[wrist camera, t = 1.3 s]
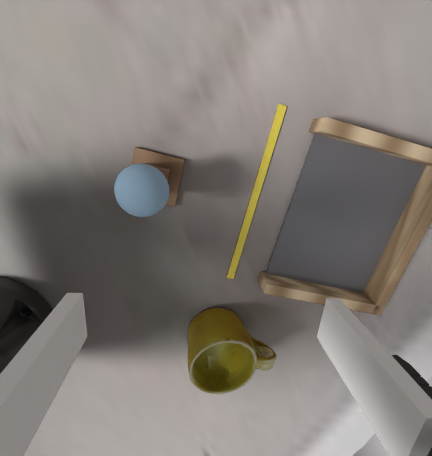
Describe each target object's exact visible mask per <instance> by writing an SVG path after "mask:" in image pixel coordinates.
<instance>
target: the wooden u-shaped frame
mask: <svg viewBox="0 0 432 456" xmlns="http://www.w3.org/2000/svg"><path fill="white" fill-rule="evenodd" d="M309 132H311V133H316V134H320V135H323V136H327V137H330V138H333V139H337V140H340V141H344V142H347V143H351V144H354V145H358V146H361V147H365V148H368V149H371V150H375V151H378V152H382V153H385V154H389V155H392V156H396V157H399V158H402V159H406V160H409V161H413V162H416V163H420V164H423V165H426V167H425V169H424V171H423V173H422V175H421V177H420V179H419V181H418V183H417V185H416V187H415V189H414V191H413V193H412V195H411V197H410V199H409V201H408V203H407V205H406V207H405V209H404V211H403V213H402V215H401V217H400V219H399V221H398V223H397V225H396V227H395V229H394V231H393V233H392V236H391V238H390V240H389V242H388V244H387V246H386V248H385V250H384V252H383V254H382V256H381V258H380V260H379V262H378V264H377V266H376V268H375V270H374V272H373V274H372V276H371V278H370V280H369V282H368V284H367V286H366V288H365V290H364V292H363V293H360V292H355V291H350V290H345V289H340V288H335V287H330V286H325V285H320V284H315V283H310V282H305V281H300V280H295V279H290V278H285V277H280V276H275V275H270V274H266V272H261V273H260V276H259V279H258V281H259V284H260V286H261V288H262V291H263V293H264V294H269V295H274V296H280V297H285V298H290V299H296V300H301V301H307V302H312V303H317V304H323V305H325V302H326V298H340V299H341V300H342V301H343V303H344V304H345V305H346V306H347V307H348V308H349V309H350V310H355V311H360V312H365V313H371V314H376V315H381V313H382V311H383V310H384V308H385V306H386V304H387V302H388V300H389V298H390V297H391V295H392V293H393V291H394V289H395V287H396V285H397V284H398V282H399V280H400V278H401V276H402V274H403V272H404V271H405V269H406V267H407V265H408V263H409V261H410V259H411V258H412V256H413V254H414V252H415V250H416V248H417V246H418V245H419V243H420V241H421V239H422V237H423V235H424V233H425V231H426V230H427V228H428V226H429V224H430V222H431V220H432V149H431V148H428V147H424V146H421V145H418V144H414V143H411V142H408V141H404V140H401V139H398V138H395V137H391V136H388V135H385V134H381V133H378V132H375V131H371V130H368V129H365V128H361V127H358V126H355V125H351V124H348V123H345V122H341V121H338V120H335V119H332V118H328V117H325V118H319V119H313V122H312V125H311V128H310V131H309Z"/></svg>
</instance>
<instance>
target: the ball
mask: <svg viewBox="0 0 432 456" xmlns="http://www.w3.org/2000/svg"><path fill="white" fill-rule="evenodd" d="M114 193H115V197H116V200H117V202H118V204H119V205H120V207H121V208H122V209H123V210H124V211H126V212H127V213H129V214H131V215H133V216H137V217H149V216H152V215H155V214H156V213H158V212H160V211H161V210H162V209H163V208H164V206H165V205H166V203H167V201H168V198H169V185H168V182H167V179H166V178H165V176H164V175H163V173H162V172H161V171H159V170H158V169H157V168H155V167H153V166H151V165H148V164H133V165H130V166H128V167H126V168H125V169H124V170H122V171H121V172H120V174H119V175H118V177H117V179H116V181H115V185H114Z"/></svg>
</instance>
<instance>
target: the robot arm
mask: <svg viewBox="0 0 432 456" xmlns="http://www.w3.org/2000/svg"><path fill="white" fill-rule="evenodd" d="M86 338H87V327H86V318H85V308H84V299H83V293H67V294H66V295H65V296H64V297H63V298H62V300H61V301H60V302H59V303H58V304H57V306H56V307H55V308H54V309H53V311H52V309H51V307H50V306H49V304H48V303H47V302H46V301H45V300H44V299H43V298H42V297H41V296H40V295H39V294H38V293H37V292H35V291H34V290H33V289H31V288H29V287H28V286H26V285H24V284H22V283H20V282H17V281H14V280H11V279H7V278H3V277H0V456H23V455H24V453H25V452H26V450H27V448H28V446H29V444H30V442H31V440H32V439H33V437H34V435H35V433H36V431H37V429H38V427H39V426H40V424H41V422H42V420H43V418H44V416H45V414H46V413H47V411H48V409H49V407H50V405H51V403H52V401H53V400H54V398H55V396H56V394H57V392H58V390H59V388H60V387H61V385H62V383H63V381H64V379H65V377H66V375H67V374H68V372H69V370H70V368H71V366H72V364H73V362H74V361H75V359H76V357H77V355H78V353H79V351H80V349H81V348H82V346H83V344H84V342H85V340H86ZM317 339H318V340H319V342H320V343H321V345H322V347H323V348H324V350H325V352H326V353H327V355H328V356H329V358H330V360H331V361H332V363H333V365H334V366H335V368H336V369H337V371H338V373H339V374H340V376H341V378H342V379H343V381H344V382H345V384H346V386H347V387H348V389H349V391H350V392H351V394H352V395H353V397H354V399H355V400H356V402H357V404H358V405H359V407H360V409H361V410H362V412H363V413H364V415H365V417H366V418H367V420H368V422H369V423H370V425H371V426H372V428H373V430H374V431H375V433H376V435H377V436H378V438H379V439H380V441H381V443H382V444H383V446H384V448H385V449H386V451H387V452H388V454H389V456H432V387H430V386H429V384H428V383H427V382H426V381H425V380H424V378H423V377H421V376H420V374H419V373H418V372H417V371H416V370H415V369H414V368H413V367H412V366H411V365H410V364H409V363H407V362H406V361H405V360H403V359H402V358H400V357H399V356H398V355H391V354H390V353H389V352H388V351H387V350H386V349H385V348H384V347H383V345H382V344H381V343H380V342H379V341H378V340H377V339H376V338H375V337H374V336H373V334H372V333H371V332H370V331H369V330H368V329H367V328H366V327H365V326H364V325H363V323H362V322H361V321H360V320H359V319H358V318H357V317H356V316H355V315H354V314H353V312H352V311H351V310H350V309H349V308H348V307H347V306H346V305H345V304H344V303H343V301H342V300H341V299H340V298H326V302H325V306H324V310H323V314H322V318H321V322H320V326H319V330H318V334H317Z"/></svg>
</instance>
